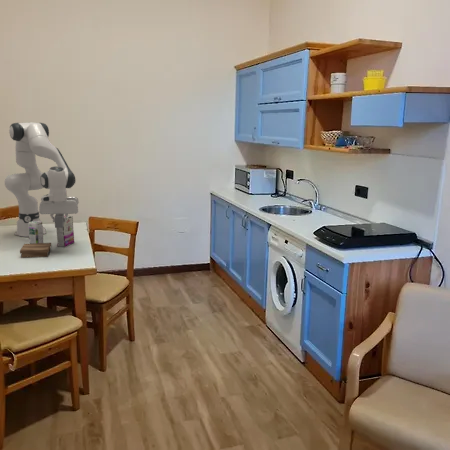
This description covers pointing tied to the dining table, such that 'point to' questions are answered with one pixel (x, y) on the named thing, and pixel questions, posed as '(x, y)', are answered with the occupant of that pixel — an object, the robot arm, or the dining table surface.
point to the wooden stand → (35, 250)
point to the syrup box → (35, 232)
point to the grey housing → (59, 220)
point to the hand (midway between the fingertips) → (59, 221)
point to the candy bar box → (66, 233)
